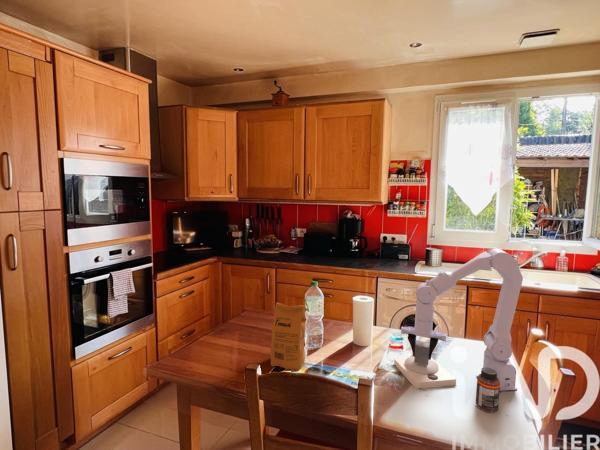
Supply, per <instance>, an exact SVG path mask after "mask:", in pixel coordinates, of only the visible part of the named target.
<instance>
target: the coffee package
mask: <svg viewBox="0 0 600 450" xmlns="http://www.w3.org/2000/svg"><path fill="white" fill-rule="evenodd" d="M305 318H306V315H305V305H304V304H303V305H302V304H300V305H286V304H283V303H281V302H278V301H277V302H275V308H274V313H273V320H272V321H273V323H272V327H271V345H270V366H271V367H274V366H279V368H282V367H283V368H285V369H284V370H287V369H291V370H295V371H296V370H297V371H299V370H301V368H302V367H303V366H304V364H305V359H306V355H305V342H306V341H305V339H306V338H305V337H306V319H305ZM283 368H282V369H283ZM291 370H290V371H291Z"/></svg>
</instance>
